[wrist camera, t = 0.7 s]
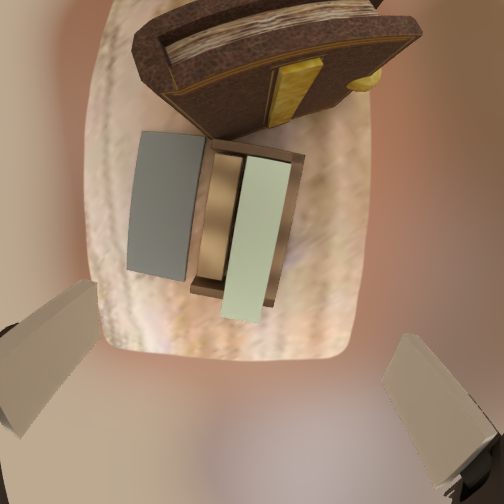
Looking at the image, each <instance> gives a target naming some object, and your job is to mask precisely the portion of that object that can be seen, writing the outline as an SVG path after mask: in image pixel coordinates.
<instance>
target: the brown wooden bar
mask: <svg viewBox="0 0 504 504" xmlns="http://www.w3.org/2000/svg"><path fill="white" fill-rule="evenodd" d="M243 164H244V160H243V158H240V157H234V156H228V155H221V154H215V158H214V164H213V169H212V175H211V181H210V187H209V193H208V199H207V206H206V212H205V219H204V225H203V232H202V239H201V247H200V254H199V262H198V270H197V276H200V277H205V278H210V279H216V280H222V277H223V276H224V273H225V268H226V262H227V256H228V250H229V244H230V238H231V232H232V226H233V220H234V214H235V208H236V202H237V197H238V191H239V186H240V180H241V175H242V169H243Z"/></svg>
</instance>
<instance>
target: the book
mask: <svg viewBox="0 0 504 504" xmlns="http://www.w3.org/2000/svg"><path fill="white" fill-rule="evenodd" d="M382 1H383V0H197V1H194V2H191V3H189V4H186V5H184V6H181V7H179V8H176V9H174V10H171V11H169V12H167V13H165V14H162V15H160V16H158V17H156V18H154V19H152V20H150V21H149V22H148V23H147V24H145V25H144V26H143V27H142V28H141V29H140V30H138V31H137V32H136V33H135V34H134V39H133V44H132V50H131V51H132V54H133V58H134V61H135V64H136V67H137V70H138V73H139V76H140V78H141V81H142V82H143V83H144V84H146V85H147V86H148V87H149V88H150V89H151V90H152V91H153V92H155V93H156V94H157V95H158V96H159V97H161V98H162V99H163V100H164V101H166V102H167V103H168V104H169V105H171V106H172V107H173V108H174V109H175V110H177V111H178V112H179V113H180V114H181V115H183V116H184V117H185V118H186V119H187V120H189V121H190V122H191V123H192V124H193V125H194V126H196V127H197V128H198V129H199V130H200V131H201V132H203V133H204V134H205V135H206V136H207V137H208V138H209V139H211V140H212V139H219V140H226V141H232V140H234V139H237V138H240V137H242V136H245V135H248V134H250V133H253V132H256V131H258V130H261V129H264V128H267V127H268V129H269V128H272V127H275V126H278V125H281V124H284V123H287V122H289V121H290V120H291V119H294V118H297V117H301V116H304V115H307V114H311V113H314V112H317V111H321V110H325V109H328V108H332V107H335V106H336V105H337V104H338V103H339V102H340V101H341V100H343V99H344V98H345V97H346V96H347V95H348V94H350V93H351V92H352V91H356V92H366V91H368V90H370V89H372V88H373V87H375V86H376V85H377V83H378V82H379V80H380V77H381V70H382V69H381V67H382V66H383V65H385V64H386V63H387V62H388V61H390V60H391V59H392V58H394V57H395V56H396V55H397V54H399V53H400V52H401V51H402V50H404V49H405V48H406V47H408V46H409V45H410V44H412V43H413V42H414V41H416V40H417V39H418V38H420V37H421V36H422V30H421V28H420V26H419V25H418V23H417V22H416V20H415V19H414V18H413V17H411V16H379V14H378V13H377V11H376V9H377V7H378V6H379V5H380V4H381V3H382Z"/></svg>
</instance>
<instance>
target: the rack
mask: <svg viewBox="0 0 504 504" xmlns="http://www.w3.org/2000/svg"><path fill="white" fill-rule="evenodd" d="M211 148H212V149H213V150H214V151H216V152H217V153H224V154H231V155H237V156H243V157H247V156H252V157H257V158H263V159H268V160H274V161H279V162H284V163H288V164H291V170H290V175H289V180H288V185H287V191H286V196H285V201H284V206H283V211H282V216H281V221H280V226H279V231H278V236H277V241H276V245H275V250H274V255H273V260H272V265H271V269H270V274H269V279H268V283H267V288H266V293H265V297H264V302H263V306H266V307H272V308H273V306H274V302H275V297H276V293H277V289H278V284H279V280H280V276H281V271H282V267H283V262H284V258H285V253H286V248H287V244H288V239H289V234H290V230H291V225H292V220H293V215H294V210H295V205H296V200H297V195H298V190H299V185H300V180H301V175H302V170H303V164H304V159H305V155H302V154H298V153H293V152H288V151H283V150H278V149H273V148H268V147H263V146H257V145H251V144H246V143H239V142H233V141H226V140H219V139H212V144H211ZM226 277H227V276H226V275H224V276H223V277H222V280H216V279H210V278H205V277H200V276H197V275H196V276H195V278H194V280H193V282H192V283H191V285H190V293H193V294H198V295H203V296H208V297H214V298H219V299H223V296H224V290H225V283H226Z"/></svg>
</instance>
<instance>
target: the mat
mask: <svg viewBox="0 0 504 504" xmlns="http://www.w3.org/2000/svg"><path fill="white" fill-rule="evenodd" d="M205 142H206V137H204V136H195V135H186V134H175V133H163V132H149V131H142V133H141V139H140V144H139V150H138V156H137V162H136V168H135V175H134V183H133V191H132V199H131V209H130V219H129V232H128V247H127V270H130V271H135V272H139V273H144V274H148V275H153V276H158V277H163V278H167V279H172V280H177V281H182V282H184V281H185V278H186V269H187V260H188V252H189V243H190V236H191V228H192V221H193V214H194V207H195V200H196V194H197V187H198V181H199V175H200V169H201V164H202V158H203V153H204V147H205Z"/></svg>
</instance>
